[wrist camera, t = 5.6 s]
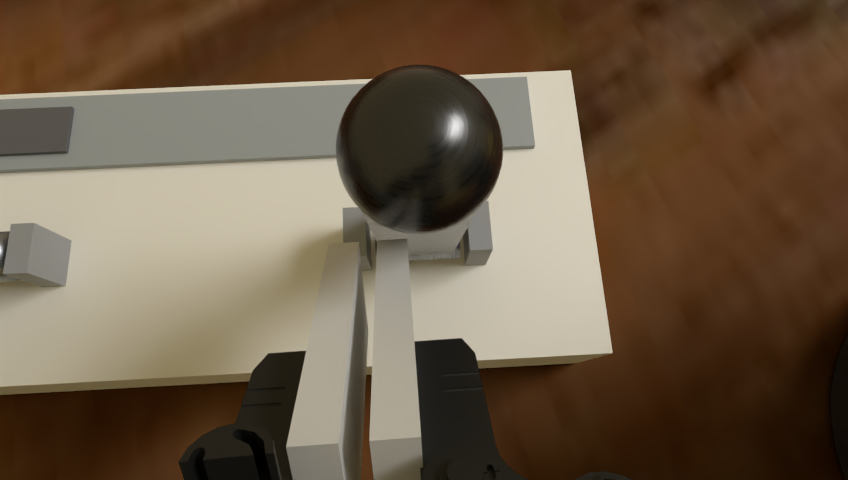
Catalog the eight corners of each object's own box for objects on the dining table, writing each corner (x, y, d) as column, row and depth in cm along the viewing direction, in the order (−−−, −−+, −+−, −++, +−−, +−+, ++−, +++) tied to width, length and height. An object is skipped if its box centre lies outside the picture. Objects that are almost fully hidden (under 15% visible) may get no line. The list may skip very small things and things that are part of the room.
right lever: (453, 198, 22) (509, 27, 9) (458, 276, 21) (523, 213, 8) (376, 202, 22) (320, 35, 9) (379, 280, 21) (325, 223, 8)
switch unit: (545, 126, 29) (585, 38, 22) (576, 362, 25) (634, 347, 18) (-46, 153, 28) (-197, 70, 21) (-96, 400, 25) (-296, 398, 18)
